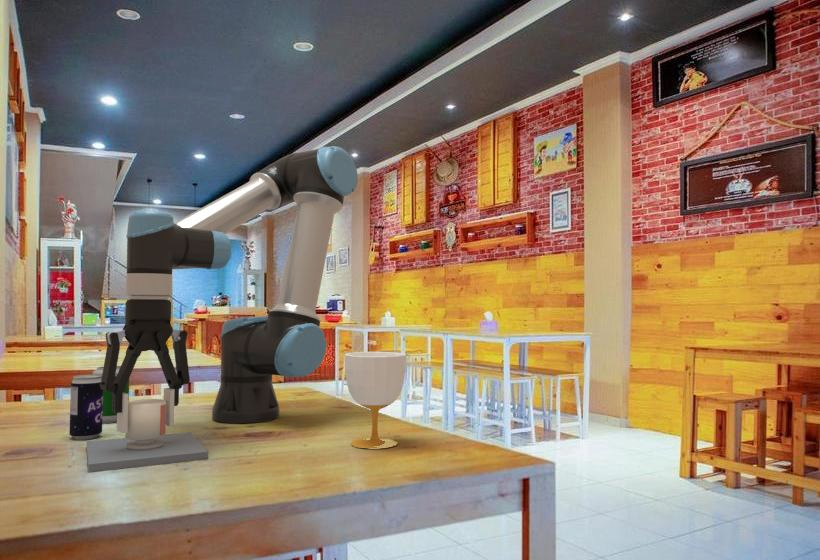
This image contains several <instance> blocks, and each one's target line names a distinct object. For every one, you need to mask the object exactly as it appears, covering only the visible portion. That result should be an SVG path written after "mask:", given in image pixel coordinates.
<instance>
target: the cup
mask: <svg viewBox="0 0 820 560" xmlns="http://www.w3.org/2000/svg"><path fill="white" fill-rule="evenodd" d="M406 363H407V354H406V353H404V352H397V351H395V352H394V351H354V352H347V353H345V354H344V369H345V379H346V381H345V382H346V385H347V388H348V389H347V390H348V392H349V394H350V396H351V398H352V400H353V401H355V402H356V404H358V405H360V406H361V407H364V408H365V409H368V410H370V411H371V423H372V424H371V425H372V426H371V436H370V437H369V438H370V440H366V439H365V438H366V437H362V438H358V439H354V440H352V441H351V442H350V444H352V445H353V446H356V447H360V448H377V447H374V446H380V445H382V444H384V443H385V441H382V440H380V439H379V438H380V437H379V431H378V421H379V420H378V419H379V417H378V416H379V411H380V410H382V409H384V408H387V407H388V406H390V405H391V404H393V403H395V402H396V401H397V400H398V398H399V396H400V394H401V393H402V390H403V387H404V383H405V376H406V374H405V373H406V369H407V368H406V366H407V364H406ZM363 439H365V440H363ZM398 443H399V442H398ZM398 443H397V444H398ZM397 444H396V445H397ZM352 445H351V446H352ZM398 445H399V444H398ZM398 445H397V446H398ZM353 446H352V447H353ZM393 446H394V445H393ZM356 447H355V448H356ZM360 448H359V449H360Z"/></svg>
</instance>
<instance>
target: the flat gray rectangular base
mask: <svg viewBox="0 0 820 560" xmlns="http://www.w3.org/2000/svg"><path fill="white" fill-rule="evenodd" d="M208 458H209V451H208V450H207V448H206V447H204V445H203V444H202V443H201V442H200V441H199V440H198V438H197V437H196V436H195V435H194V434H193V433H192V432H191V431H187V432H178V433H176V432H175V433H167V434H166V433H165V436H163V437H160V438H156V439H149V440H129V439H126V437H121V438H111V439H110V438H107V439H99V440H98V439H97V440H87V441H86V459H87V472H88V473H92V472H93V473H94V472H103V471H111V470H118V469H119V470H121V469H128V468H136V467H137V468H140V467H146V466H147V467H149V466H156V465H164V464H165V465H166V464H171V463H173V464H174V463H181V462H192V461H199V460H208Z"/></svg>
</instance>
